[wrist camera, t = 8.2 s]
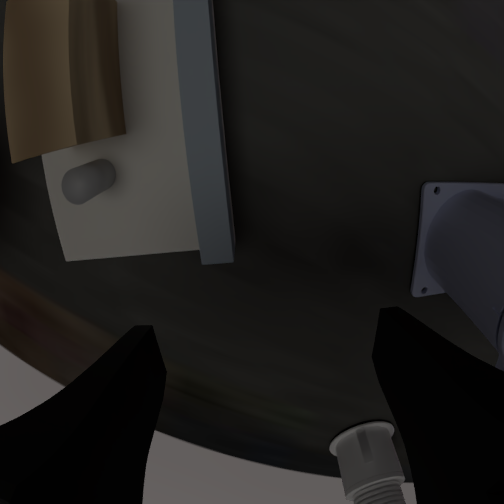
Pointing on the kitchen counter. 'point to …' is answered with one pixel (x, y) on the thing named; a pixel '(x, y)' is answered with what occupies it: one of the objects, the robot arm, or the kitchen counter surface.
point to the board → (153, 147)
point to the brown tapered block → (61, 75)
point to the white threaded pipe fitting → (369, 464)
